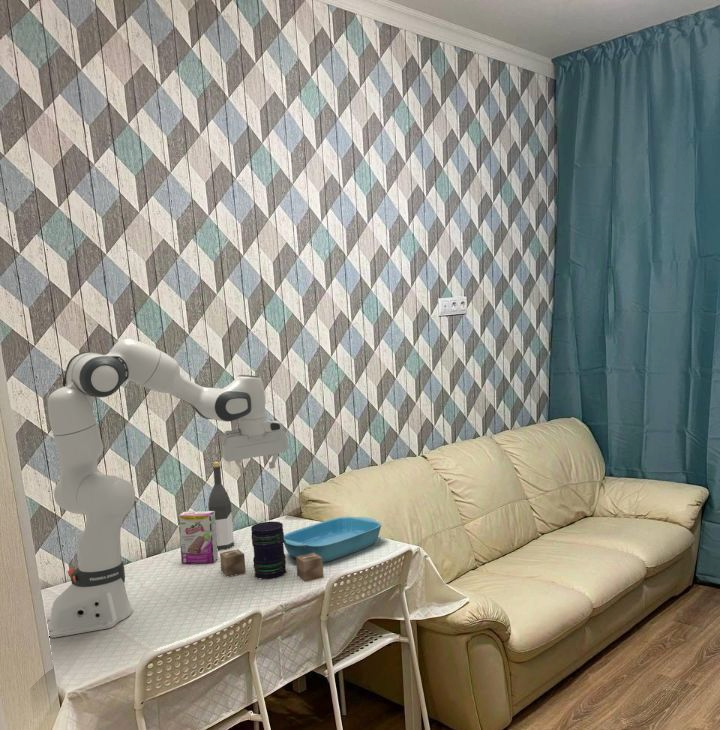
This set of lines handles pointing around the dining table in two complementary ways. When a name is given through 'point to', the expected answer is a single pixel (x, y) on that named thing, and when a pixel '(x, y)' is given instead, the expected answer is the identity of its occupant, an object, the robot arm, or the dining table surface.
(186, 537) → the candy bar box
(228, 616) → the dining table surface
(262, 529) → the dark blue rusty barrel
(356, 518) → the casserole dish
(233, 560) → the walnut block seven
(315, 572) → the walnut block one
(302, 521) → the dining table surface
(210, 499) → the wine bottle
